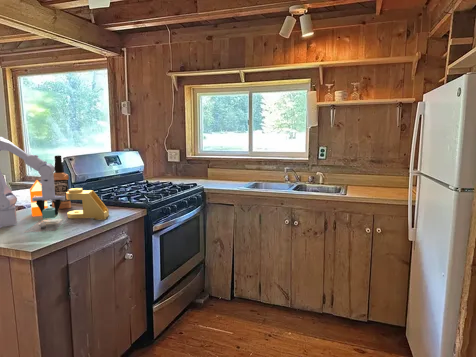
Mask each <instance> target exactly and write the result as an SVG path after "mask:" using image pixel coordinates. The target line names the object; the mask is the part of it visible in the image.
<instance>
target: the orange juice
mask: <svg viewBox="0 0 476 357" xmlns="http://www.w3.org/2000/svg"><path fill="white" fill-rule="evenodd" d="M29 194H30V196H29V197H30V206H31V207H30V208H31V216H32V217H40V216H42V213H41V211H40V209H39V207H38V206H37V204H36V203H37V201H35V202H32V198H33V197H42V187H41V181H39V180H38V179H36V180H35V181H34V182H33V185H32V186H31V187H30V188H29ZM44 208H49V207H48V201H45V204H44Z"/></svg>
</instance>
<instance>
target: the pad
mask: <svg viewBox="0 0 476 357" xmlns="http://www.w3.org/2000/svg"><path fill="white" fill-rule="evenodd" d="M63 219H64V218H50V219H42V220H43V221H46V225H49V224H58V223H60V222H61V221H62V220H63ZM42 220H41V221H42ZM43 221H42V222H43ZM38 225H40V223H39V224H38Z"/></svg>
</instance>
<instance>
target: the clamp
mask: <svg viewBox="0 0 476 357" xmlns="http://www.w3.org/2000/svg"><path fill="white" fill-rule="evenodd" d="M66 199H67V200H70V201H82V209H77V210H71V211H68V212H67V213H66V214H67V219H93V220H95V221H98V220H101V221H102V220H106V219H107V218H108V217H109V215H110V211H109V208H108V207H107V205H105V203H104V202H103V201H102V200H101V198H100V197H99V196H98V194H97V193H96V192H95V191H94V189H93V190H91V189H89V190H87V189H86V190H83V187H75V188H69V192H66Z"/></svg>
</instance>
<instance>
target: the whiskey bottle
mask: <svg viewBox="0 0 476 357" xmlns="http://www.w3.org/2000/svg"><path fill="white" fill-rule="evenodd" d="M62 159H63V158H62V155H59V154H58V155H54V165H53V166H54V168H55V171H54V173H53V174H54V185H55V196H65V200H62V202H61V204H60V206H59V210H61V209H71V208H72V203H71V201H72V200H67V199H66V192H69V189H70V186H69V174H67V173H66V172H64V165H63V163H62V162H63V160H62ZM54 201H55V200H54ZM54 201H51V208H55V205H54Z"/></svg>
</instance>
